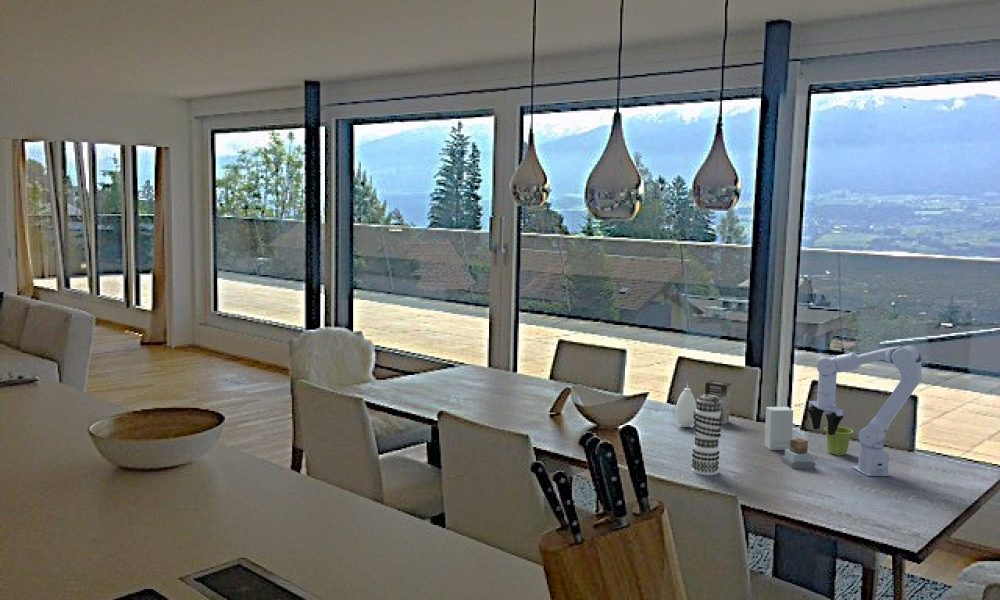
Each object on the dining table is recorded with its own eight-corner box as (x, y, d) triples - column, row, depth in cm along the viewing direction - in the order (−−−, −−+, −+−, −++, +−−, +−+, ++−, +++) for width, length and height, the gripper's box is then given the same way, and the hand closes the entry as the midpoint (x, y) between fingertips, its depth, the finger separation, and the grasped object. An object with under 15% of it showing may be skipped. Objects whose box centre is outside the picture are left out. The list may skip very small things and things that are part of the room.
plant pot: (853, 458, 294) (855, 433, 294) (825, 456, 296) (827, 431, 295) (848, 451, 304) (850, 427, 303) (820, 448, 305) (822, 425, 305)
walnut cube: (807, 452, 284) (808, 440, 283) (799, 454, 282) (800, 442, 281) (797, 449, 287) (798, 438, 287) (789, 451, 285) (790, 439, 284)
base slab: (814, 469, 281) (815, 462, 281) (791, 470, 280) (792, 462, 280) (803, 462, 289) (803, 455, 289) (781, 462, 288) (781, 455, 288)
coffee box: (702, 421, 342) (704, 382, 340) (707, 418, 347) (709, 379, 346) (724, 424, 337) (726, 385, 335) (729, 421, 342) (731, 382, 341)
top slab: (812, 461, 282) (812, 454, 281) (793, 462, 281) (794, 454, 280) (802, 456, 288) (802, 449, 288) (784, 456, 287) (785, 449, 287)
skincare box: (785, 446, 308) (788, 406, 306) (792, 450, 302) (794, 410, 300) (763, 445, 307) (765, 405, 306) (768, 450, 301) (771, 409, 300)
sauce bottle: (699, 428, 330) (702, 383, 328) (685, 430, 326) (688, 384, 324) (684, 423, 337) (687, 379, 335) (670, 426, 332) (673, 381, 330)
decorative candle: (684, 468, 277) (688, 393, 274) (707, 465, 280) (711, 392, 278) (701, 476, 268) (705, 399, 266) (725, 474, 272) (729, 397, 269)
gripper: (851, 396, 282) (848, 436, 283) (821, 387, 295) (819, 425, 297) (834, 397, 279) (831, 437, 281) (804, 388, 293) (802, 427, 294)
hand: (823, 431), depth 288 cm, fingers open, 7 cm apart
